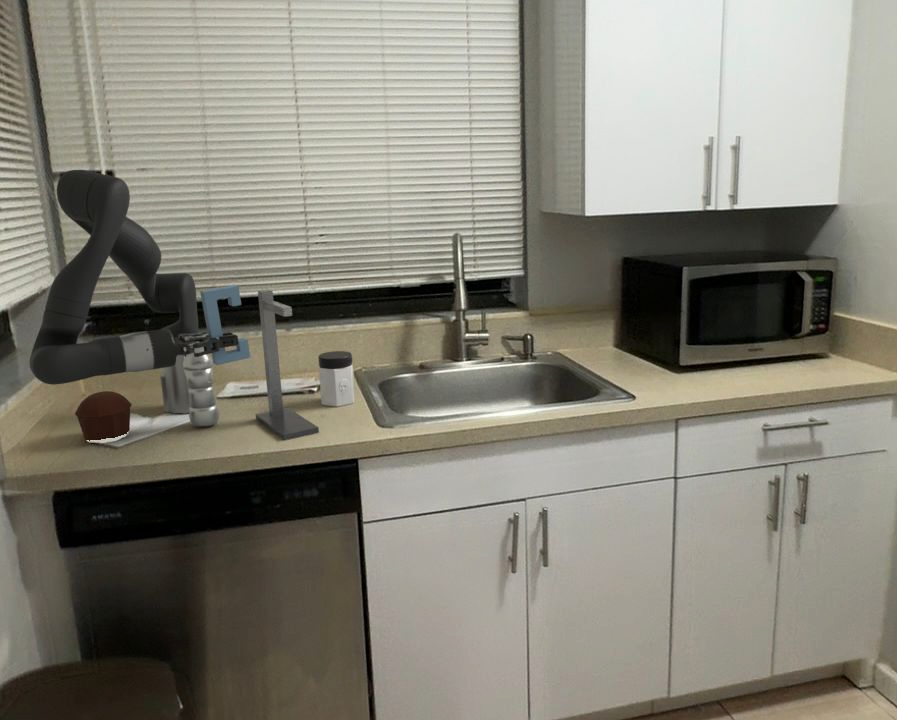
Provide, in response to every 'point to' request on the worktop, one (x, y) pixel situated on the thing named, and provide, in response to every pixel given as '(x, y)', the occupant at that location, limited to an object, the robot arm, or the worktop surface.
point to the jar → (336, 378)
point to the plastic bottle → (201, 390)
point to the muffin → (104, 415)
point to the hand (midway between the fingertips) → (234, 338)
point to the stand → (277, 375)
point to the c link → (215, 324)
